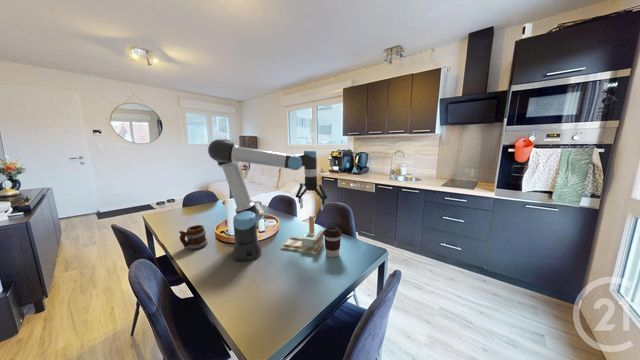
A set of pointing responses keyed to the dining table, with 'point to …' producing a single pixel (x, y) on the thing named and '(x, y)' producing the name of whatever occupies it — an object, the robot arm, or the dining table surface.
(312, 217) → the dowel
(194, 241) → the mug
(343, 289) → the dining table surface
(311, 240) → the block
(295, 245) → the board
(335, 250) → the coffee cup
